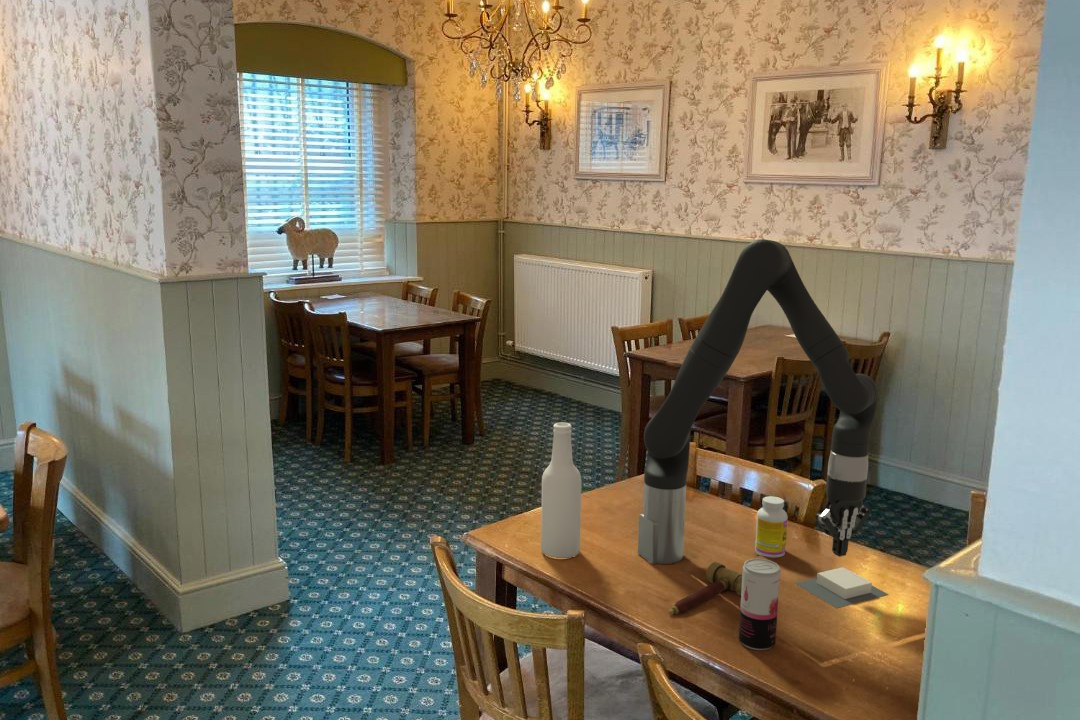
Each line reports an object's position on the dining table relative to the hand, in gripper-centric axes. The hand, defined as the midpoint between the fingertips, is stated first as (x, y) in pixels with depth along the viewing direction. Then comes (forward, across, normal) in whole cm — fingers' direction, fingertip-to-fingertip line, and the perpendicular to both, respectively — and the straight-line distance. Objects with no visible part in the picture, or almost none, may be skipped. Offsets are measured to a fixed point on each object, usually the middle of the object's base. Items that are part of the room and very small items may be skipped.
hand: (839, 554), depth 180 cm
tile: (+6, +2, 0) cm, 7 cm away
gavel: (+9, +27, -8) cm, 29 cm away
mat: (+8, -1, 0) cm, 8 cm away
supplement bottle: (+9, 0, -21) cm, 23 cm away
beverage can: (+9, +28, +9) cm, 30 cm away
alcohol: (+9, +43, -41) cm, 60 cm away
